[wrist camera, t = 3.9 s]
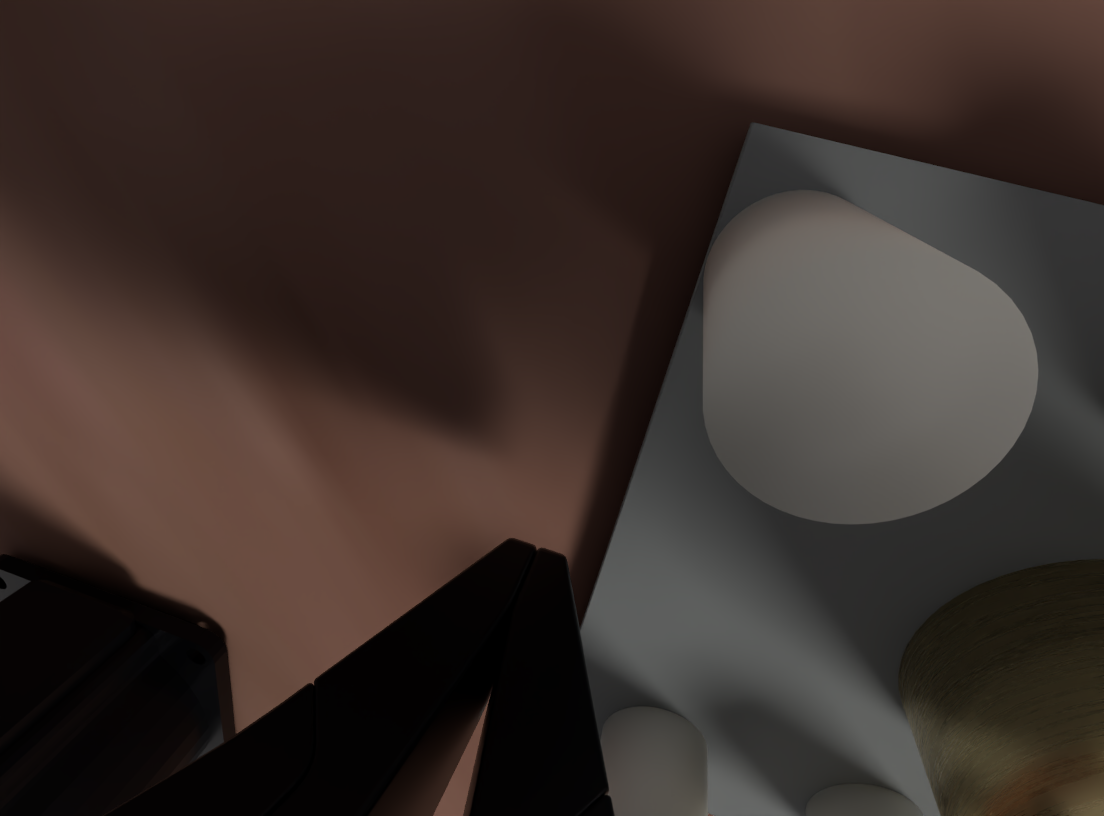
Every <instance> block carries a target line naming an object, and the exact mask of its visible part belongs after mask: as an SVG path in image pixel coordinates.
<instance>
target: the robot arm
mask: <svg viewBox="0 0 1104 816" xmlns="http://www.w3.org/2000/svg"><path fill="white" fill-rule="evenodd" d="M490 694H491V695H490ZM489 697H490V699H489ZM488 699H489V703H488V707H487V712H486V716H485V720H484V724H483V728H482V733H481V737H480V742H479V746H478V751H477V755H476V760H475V764H474V769H473V773H472V778H471V783H470V787H469V792H468V796H467V801H466V805H465V810H464V814H463V816H615V815H614V810H613V804H612V799H611V797H610V796H609V795H607V794H608V792H609V784H608V779H607V774H606V768H605V763H604V757H603V752H602V747H601V741H600V736H599V730H598V725H597V720H596V714H595V709H594V703H593V698H592V692H591V687H590V682H589V676H588V671H587V665H586V660H585V655H584V649H583V644H582V638H581V633H580V627H579V622H578V617H577V611H576V606H575V600H574V595H573V590H572V584H571V579H570V573H569V568H568V563H567V559H566V557H565V556H564V555H563V554H560V553H557V552H554V551H551V550H548V549H545V548H539V549H538V550H536V547H535V545H533V544H530V543H527V542H524V541H521V540H518V539H515V538H509V539H507V540H506V541H504V542H503V543H501V544H500V545H499V546H497V547H496V548H494V549H493V550H492V551H490V552H489V553H488V554H486V555H485V556H483V557H482V558H481V559H479V560H478V561H477V562H475V563H474V564H472V565H471V566H470V567H468V568H467V569H466V570H464V571H463V572H461V573H460V574H459V575H457V576H456V577H455V578H453V579H452V580H450V581H449V582H448V583H446V584H445V585H444V586H442V587H441V588H439V589H438V590H437V591H435V592H434V593H433V594H431V595H430V596H428V597H427V598H426V599H424V600H423V601H422V602H420V603H419V604H417V605H416V606H415V607H413V608H412V609H411V610H409V611H408V612H406V613H405V614H404V615H402V616H401V617H400V618H398V619H397V620H395V621H394V622H393V623H391V624H390V625H389V626H387V627H386V628H384V629H383V630H382V631H380V632H379V633H378V634H376V635H375V636H373V637H372V638H371V639H369V640H368V641H367V642H365V643H364V644H362V645H361V646H360V647H358V648H357V649H356V650H354V651H353V652H351V653H350V654H349V655H347V656H346V657H345V658H343V659H342V660H340V661H339V662H338V663H336V664H335V665H334V666H332V667H331V668H329V669H328V670H327V671H325V672H324V673H323V674H321V675H320V676H318V677H317V678H316V679H315V681H314V685H313V684H312V683H309V684H307V685H305V686H304V687H303V688H301V689H300V690H299V691H297V692H296V693H295V694H293V695H292V696H290V697H289V698H288V699H286V700H285V701H284V702H282V703H281V704H280V705H278V706H277V707H275V708H274V709H272V710H271V711H269V712H268V713H266V714H265V715H264V716H262V717H261V718H259V719H258V720H256V721H255V722H253V723H252V724H250V725H249V726H248V727H246V728H245V729H243V730H242V731H240V732H239V733H237V734H236V735H235V726H234V715H233V705H232V695H231V685H230V675H229V664H228V654H227V648H226V645H225V643H224V642H223V641H222V639H221V638H220V637H218V636H217V635H216V634H215V633H213V632H211V631H209V630H208V629H205V628H202V627H200V626H197V625H194V624H192V623H189V622H186V621H184V620H181V619H178V618H176V617H173V616H170V615H168V614H165V613H162V612H159V611H157V610H154V609H151V608H149V607H146V606H143V605H141V604H138V603H135V602H133V601H130V600H127V599H125V598H122V597H119V596H117V595H114V594H111V593H109V592H106V591H103V590H101V589H98V588H95V587H93V586H90V585H87V584H84V583H82V582H79V581H76V580H74V579H71V578H68V577H66V576H63V575H60V574H58V573H55V572H52V571H50V570H47V569H44V568H42V567H39V566H36V565H34V564H31V563H28V562H26V561H23V560H20V559H18V558H15V557H12V556H9V555H5V554H3V555H0V816H433V814H434V812H435V810H436V808H437V806H438V804H439V802H440V800H441V798H442V796H443V794H444V792H445V790H446V788H447V785H448V783H449V781H450V779H451V777H452V775H453V773H454V771H455V769H456V767H457V765H458V763H459V761H460V759H461V757H462V755H463V753H464V751H465V748H466V746H467V744H468V742H469V740H470V738H471V736H472V734H473V732H474V730H475V728H476V726H477V724H478V722H479V720H480V717H481V715H482V713H483V711H484V709H485V706H486V704H487V702H488Z"/></svg>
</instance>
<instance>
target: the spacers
mask: <svg viewBox="0 0 1104 816" xmlns="http://www.w3.org/2000/svg"><path fill="white" fill-rule="evenodd" d="M1037 382H1038V360H1037V351H1036V347H1035V344H1034V340H1033V336H1032V333H1031V331H1030V329H1029V327H1028V325H1027V322H1026V320H1025V318H1024V316H1023V315H1022V313H1021V312H1020V310H1019V309H1018V308H1017V306H1016V305H1015V303H1014V302H1013V301H1012V299H1011V298H1010V297H1009V296H1008V295H1007V294H1006V293H1005V292H1004V291H1003V290H1002V289H1001V288H1000V287H999V286H998V285H997V284H995V283H994V282H992V281H991V280H990V279H988V278H987V277H985V276H984V275H982V274H981V273H980V272H978V271H976V270H974V269H973V268H971V267H969V266H967V265H965V264H963V263H961V262H960V261H958V260H956V259H954V258H952V257H950V256H948V255H947V254H945V253H943V252H941V251H939V250H937V249H935V248H934V247H932V246H930V245H928V244H926V243H924V242H922V241H921V240H919V239H917V238H915V237H913V236H911V235H909V234H908V233H906V232H904V231H902V230H900V229H898V228H896V227H895V226H893V225H891V224H889V223H887V222H885V221H883V220H882V219H880V218H878V217H876V216H874V215H872V214H870V213H868V212H867V211H865V210H863V209H861V208H859V207H857V206H855V205H854V204H852V203H850V202H848V201H846V200H844V199H842V198H840V197H838V196H835V195H832V194H829V193H826V192H821V191H815V190H793V191H786V192H781V193H777V194H774V195H771V196H768V197H765V198H763V199H761V200H759V201H757V202H755V203H753V204H751V205H750V206H748V207H747V208H745V209H744V210H742V211H741V212H740V213H739V214H737V215H736V216H735V217H734V218H733V219H732V220H731V221H730V222H729V223H728V224H727V225H726V226H725V227H724V229H723V230H722V231H721V233H720V234H719V235H718V237H717V239H716V240H715V242H714V244H713V246H712V248H711V250H710V253H709V255H708V258H707V261H706V265H705V270H704V278H703V415H704V421H705V427H706V430H707V434H708V437H709V440H710V443H711V445H712V447H713V449H714V451H715V453H716V455H717V457H718V458H719V460H720V461H721V463H722V464H723V466H724V467H725V469H726V470H727V471H728V472H729V474H730V475H731V476H732V477H733V478H734V479H735V480H736V481H737V482H738V483H739V484H740V485H741V486H742V487H744V488H745V489H746V490H747V491H748V492H749V493H751V494H752V495H754V496H755V497H757V498H758V499H760V500H761V501H763V502H765V503H767V504H769V505H771V506H772V507H774V508H776V509H778V510H781V511H783V512H786V513H789V514H792V515H794V516H797V517H801V518H805V519H809V520H813V521H819V522H826V523H833V524H871V523H879V522H885V521H892V520H896V519H900V518H904V517H908V516H912V515H915V514H918V513H921V512H924V511H926V510H929V509H932V508H934V507H936V506H938V505H940V504H943V503H945V502H947V501H949V500H951V499H953V498H954V497H956V496H958V495H959V494H961V493H963V492H964V491H966V490H968V489H969V488H970V487H972V486H973V485H974V484H976V483H977V482H978V481H980V480H981V479H982V478H984V477H985V476H986V475H987V474H988V473H989V472H990V471H991V470H992V469H993V468H994V467H995V466H996V465H997V464H998V463H1000V461H1001V460H1002V459H1003V458H1004V457H1005V455H1006V454H1007V453H1008V452H1009V450H1010V449H1011V448H1012V447H1013V445H1014V444H1015V442H1016V440H1017V439H1018V437H1019V436H1020V434H1021V432H1022V431H1023V429H1024V427H1025V425H1026V422H1027V420H1028V418H1029V415H1030V413H1031V411H1032V407H1033V403H1034V400H1035V396H1036V392H1037ZM601 747H602V752H603V757H604V763H605V768H606V774H607V779H608V784H609V792H608V794H607V795H609V796H610V797H611V799H612V804H613V810H614V815H615V816H708V758H707V743H706V741H705V739H704V737H703V735H702V734H701V732H700V731H699V730H698V729H697V728H696V727H695V726H694V725H693V724H692V723H690V722H689V721H688V720H686V719H685V718H683V717H681V716H679V715H677V714H675V713H673V712H670V711H667V710H664V709H660V708H655V707H647V706H637V707H629V708H625V709H621V710H619V711H617V712H615V713H613V714H612V715H611V716H610V717H608V719H607V720H606V721H605V723H604V725H603V729H602V735H601ZM805 813H806V816H924V815H923V813H922V811H921V810H920V809H919V807H918V806H917V805H916V804H915V803H913V802H912V801H911V800H910V799H908V798H906V797H905V796H903V795H901V794H899V793H897V792H895V791H892V790H890V789H886V788H883V787H879V786H875V785H868V784H841V785H835V786H832V787H828V788H826V789H823V790H821V791H819V792H817V793H816V794H815V795H813V796H812V797H811V798H810V800H809V801H808V803H807V805H806V810H805Z"/></svg>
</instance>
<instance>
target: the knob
mask: <svg viewBox="0 0 1104 816" xmlns="http://www.w3.org/2000/svg"><path fill="white" fill-rule="evenodd" d="M898 688H899V693H900V697H901V701H902V704H903V707H904V710H905V713H906V716H907V719H908V722H909V725H910V728H911V731H912V734H913V737H914V739H915V742H916V745H917V748H918V751H919V754H920V757H921V760H922V763H923V766H924V769H925V772H926V775H927V778H928V781H929V783H930V786H931V789H932V792H933V795H934V798H935V801H936V804H937V807H938V810H939V813H940V816H1104V559H1094V560H1076V561H1067V562H1058V563H1051V564H1046V565H1041V566H1036V567H1031V568H1026V569H1023V570H1020V571H1016V572H1013V573H1009V574H1006V575H1003V576H1000V577H997V578H995V579H992V580H990V581H987V582H985V583H982V584H980V585H978V586H976V587H974V588H972V589H970V590H968V591H966V592H964V593H962V594H960V595H958V596H957V597H955V598H954V599H952V600H951V601H949V602H948V603H946V604H945V605H943V606H942V607H940V608H939V609H938V610H937V611H936V612H935V613H933V614H932V615H931V616H930V617H929V618H928V619H927V620H926V621H925V622H924V623H923V624H922V625H921V626H920V627H919V629H918V630H917V631H916V632H915V633H914V635H913V637H912V638H911V640H910V641H909V643H908V644H907V646H906V648H905V651H904V653H903V656H902V658H901V662H900V667H899V672H898Z"/></svg>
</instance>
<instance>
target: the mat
mask: <svg viewBox="0 0 1104 816" xmlns="http://www.w3.org/2000/svg"><path fill="white" fill-rule="evenodd" d="M793 190H815V191H821V192H826V193H829V194H832V195H835V196H838V197H840V198H842V199H844V200H846V201H848V202H850V203H852V204H854V205H855V206H857V207H859V208H861V209H863V210H865V211H867V212H868V213H870V214H872V215H874V216H876V217H878V218H880V219H882V220H883V221H885V222H887V223H889V224H891V225H893V226H895V227H896V228H898V229H900V230H902V231H904V232H906V233H908V234H909V235H911V236H913V237H915V238H917V239H919V240H921V241H922V242H924V243H926V244H928V245H930V246H932V247H934V248H935V249H937V250H939V251H941V252H943V253H945V254H947V255H948V256H950V257H952V258H954V259H956V260H958V261H960V262H961V263H963V264H965V265H967V266H969V267H971V268H973V269H974V270H976V271H978V272H980V273H981V274H982V275H984V276H985V277H987V278H988V279H990V280H991V281H992V282H994V283H995V284H997V285H998V286H999V287H1000V288H1001V289H1002V290H1003V291H1004V292H1005V293H1006V294H1007V295H1008V296H1009V297H1010V298H1011V299H1012V301H1013V302H1014V303H1015V305H1016V306H1017V308H1018V309H1019V310H1020V312H1021V313H1022V315H1023V316H1024V318H1025V320H1026V322H1027V325H1028V327H1029V329H1030V331H1031V333H1032V336H1033V340H1034V344H1035V347H1036V351H1037V360H1038V382H1037V392H1036V396H1035V400H1034V403H1033V407H1032V411H1031V413H1030V415H1029V418H1028V420H1027V422H1026V425H1025V427H1024V429H1023V431H1022V432H1021V434H1020V436H1019V437H1018V439H1017V440H1016V442H1015V444H1014V445H1013V447H1012V448H1011V449H1010V450H1009V452H1008V453H1007V454H1006V455H1005V457H1004V458H1003V459H1002V460H1001V461H1000V463H998V464H997V465H996V466H995V467H994V468H993V469H992V470H991V471H990V472H989V473H988V474H987V475H986V476H985V477H984V478H982V479H981V480H980V481H978V482H977V483H976V484H974V485H973V486H972V487H970V488H969V489H968V490H966V491H964V492H963V493H961V494H959V495H958V496H956V497H954V498H953V499H951V500H949V501H947V502H945V503H943V504H940V505H938V506H936V507H934V508H932V509H929V510H926V511H924V512H921V513H918V514H915V515H912V516H908V517H904V518H900V519H896V520H892V521H885V522H879V523H871V524H833V523H826V522H819V521H813V520H809V519H805V518H801V517H797V516H794V515H792V514H789V513H786V512H783V511H781V510H778V509H776V508H774V507H772V506H771V505H769V504H767V503H765V502H763V501H761V500H760V499H758V498H757V497H755V496H754V495H752V494H751V493H749V492H748V491H747V490H746V489H745V488H744V487H742V486H741V485H740V484H739V483H738V482H737V481H736V480H735V479H734V478H733V477H732V476H731V475H730V474H729V472H728V471H727V470H726V469H725V467H724V466H723V464H722V463H721V461H720V460H719V458H718V457H717V455H716V453H715V451H714V449H713V447H712V445H711V443H710V440H709V437H708V434H707V430H706V427H705V421H704V415H703V278H704V270H705V265H706V261H707V258H708V255H709V253H710V250H711V248H712V246H713V244H714V242H715V240H716V239H717V237H718V235H719V234H720V233H721V231H722V230H723V229H724V227H725V226H726V225H727V224H728V223H729V222H730V221H731V220H732V219H733V218H734V217H735V216H736V215H737V214H739V213H740V212H741V211H742V210H744V209H745V208H747V207H748V206H750V205H751V204H753V203H755V202H757V201H759V200H761V199H763V198H765V197H768V196H771V195H774V194H777V193H781V192H786V191H793ZM1094 559H1104V205H1101V204H1096V203H1092V202H1088V201H1084V200H1079V199H1075V198H1071V197H1067V196H1063V195H1058V194H1054V193H1050V192H1046V191H1041V190H1037V189H1033V188H1029V187H1024V186H1020V185H1016V184H1012V183H1008V182H1003V181H999V180H995V179H991V178H986V177H982V176H978V175H974V174H970V173H965V172H961V171H957V170H953V169H948V168H944V167H940V166H936V165H931V164H927V163H923V162H919V161H915V160H910V159H906V158H902V157H898V156H893V155H889V154H885V153H881V152H877V151H872V150H868V149H864V148H860V147H855V146H851V145H847V144H843V143H838V142H834V141H830V140H826V139H822V138H817V137H813V136H809V135H805V134H800V133H796V132H792V131H788V130H784V129H779V128H775V127H771V126H767V125H762V124H758V123H754V122H751V124H750V127H749V130H748V133H747V135H746V138H745V141H744V144H743V147H742V150H741V153H740V156H739V159H738V162H737V165H736V168H735V171H734V174H733V177H732V180H731V183H730V186H729V189H728V192H727V195H726V198H725V201H724V203H723V206H722V209H721V212H720V215H719V218H718V221H717V224H716V227H715V230H714V233H713V236H712V239H711V242H710V245H709V248H708V251H707V254H706V257H705V260H704V263H703V266H702V269H701V271H700V274H699V277H698V280H697V283H696V286H695V289H694V292H693V295H692V298H691V301H690V304H689V307H688V310H687V313H686V316H685V319H684V322H683V325H682V328H681V331H680V334H679V337H678V340H677V342H676V345H675V348H674V351H673V354H672V357H671V360H670V363H669V366H668V369H667V372H666V375H665V378H664V381H663V384H662V387H661V390H660V393H659V396H658V399H657V402H656V405H655V408H654V410H653V413H652V416H651V419H650V422H649V425H648V428H647V431H646V434H645V437H644V440H643V443H642V446H641V449H640V452H639V455H638V458H637V461H636V464H635V467H634V470H633V473H632V476H631V479H630V481H629V484H628V487H627V490H626V493H625V496H624V499H623V502H622V505H621V508H620V511H619V514H618V517H617V520H616V523H615V526H614V529H613V532H612V535H611V538H610V541H609V544H608V547H607V549H606V552H605V555H604V558H603V561H602V564H601V567H600V570H599V573H598V576H597V579H596V582H595V585H594V588H593V591H592V594H591V597H590V600H589V603H588V606H587V609H586V612H585V615H584V617H583V620H582V623H581V626H580V633H581V638H582V644H583V649H584V655H585V660H586V665H587V671H588V676H589V682H590V687H591V692H592V698H593V703H594V709H595V714H596V720H597V725H598V730H599V736H600V741H601V735H602V729H603V725H604V723H605V721H606V720H607V719H608V717H610V716H611V715H612V714H613V713H615V712H617V711H619V710H621V709H625V708H629V707H637V706H647V707H655V708H660V709H664V710H667V711H670V712H673V713H675V714H677V715H679V716H681V717H683V718H685V719H686V720H688V721H689V722H690V723H692V724H693V725H694V726H695V727H696V728H697V729H698V730H699V731H700V732H701V734H702V735H703V737H704V739H705V741H706V743H707V758H708V813H709V814H712V815H714V816H806V813H805V810H806V805H807V803H808V801H809V800H810V798H811V797H812V796H813V795H815V794H816V793H817V792H819V791H821V790H823V789H826V788H828V787H832V786H835V785H841V784H868V785H875V786H879V787H883V788H886V789H890V790H892V791H895V792H897V793H899V794H901V795H903V796H905V797H906V798H908V799H910V800H911V801H912V802H913V803H915V804H916V805H917V806H918V807H919V809H920V810H921V811H922V813H923V815H924V816H940V813H939V810H938V807H937V804H936V801H935V798H934V795H933V792H932V789H931V786H930V783H929V781H928V778H927V775H926V772H925V769H924V766H923V763H922V760H921V757H920V754H919V751H918V748H917V745H916V742H915V739H914V737H913V734H912V731H911V728H910V725H909V722H908V719H907V716H906V713H905V710H904V707H903V704H902V701H901V697H900V693H899V688H898V672H899V667H900V662H901V658H902V656H903V653H904V651H905V648H906V646H907V644H908V643H909V641H910V640H911V638H912V637H913V635H914V633H915V632H916V631H917V630H918V629H919V627H920V626H921V625H922V624H923V623H924V622H925V621H926V620H927V619H928V618H929V617H930V616H931V615H932V614H933V613H935V612H936V611H937V610H938V609H939V608H940V607H942V606H943V605H945V604H946V603H948V602H949V601H951V600H952V599H954V598H955V597H957V596H958V595H960V594H962V593H964V592H966V591H968V590H970V589H972V588H974V587H976V586H978V585H980V584H982V583H985V582H987V581H990V580H992V579H995V578H997V577H1000V576H1003V575H1006V574H1009V573H1013V572H1016V571H1020V570H1023V569H1026V568H1031V567H1036V566H1041V565H1046V564H1051V563H1058V562H1067V561H1076V560H1094Z"/></svg>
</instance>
